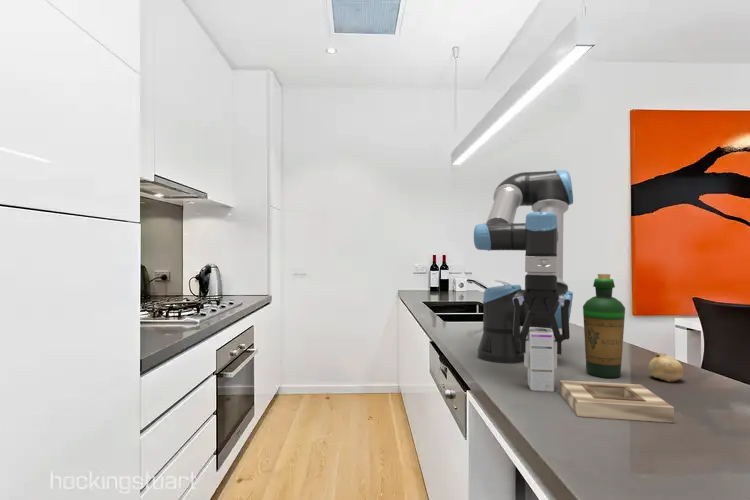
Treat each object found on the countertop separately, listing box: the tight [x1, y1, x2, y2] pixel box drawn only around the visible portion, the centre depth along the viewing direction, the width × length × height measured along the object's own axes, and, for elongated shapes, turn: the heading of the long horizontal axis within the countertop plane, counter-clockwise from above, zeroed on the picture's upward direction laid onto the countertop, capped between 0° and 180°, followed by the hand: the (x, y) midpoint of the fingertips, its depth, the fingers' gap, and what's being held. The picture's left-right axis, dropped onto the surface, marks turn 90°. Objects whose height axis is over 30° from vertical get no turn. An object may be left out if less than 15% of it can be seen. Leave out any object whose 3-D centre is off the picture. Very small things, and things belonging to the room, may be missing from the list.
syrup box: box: [526, 327, 555, 393], centre depth 112 cm, size 6×6×14 cm
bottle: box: [582, 273, 626, 379], centre depth 125 cm, size 11×11×28 cm
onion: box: [647, 352, 685, 383], centre depth 121 cm, size 8×8×7 cm
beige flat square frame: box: [559, 379, 675, 424], centre depth 99 cm, size 16×18×3 cm
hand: (540, 366), depth 112 cm, fingers closed on syrup box, 6 cm apart
